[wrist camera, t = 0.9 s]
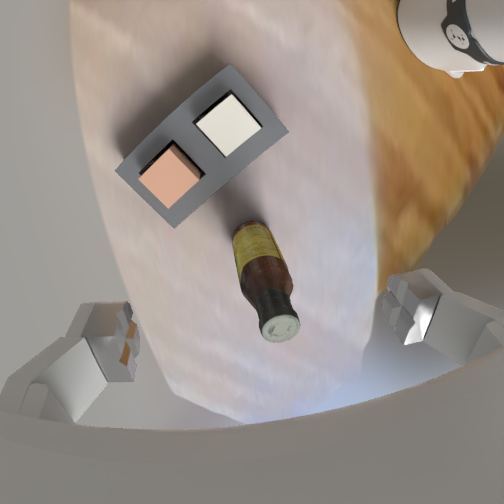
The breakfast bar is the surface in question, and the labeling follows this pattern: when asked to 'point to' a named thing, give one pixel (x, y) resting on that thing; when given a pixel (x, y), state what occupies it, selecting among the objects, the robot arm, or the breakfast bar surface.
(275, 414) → the breakfast bar surface
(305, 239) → the breakfast bar surface
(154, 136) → the keypad
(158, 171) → the terracotta key
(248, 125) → the cream key
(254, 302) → the sauce bottle
